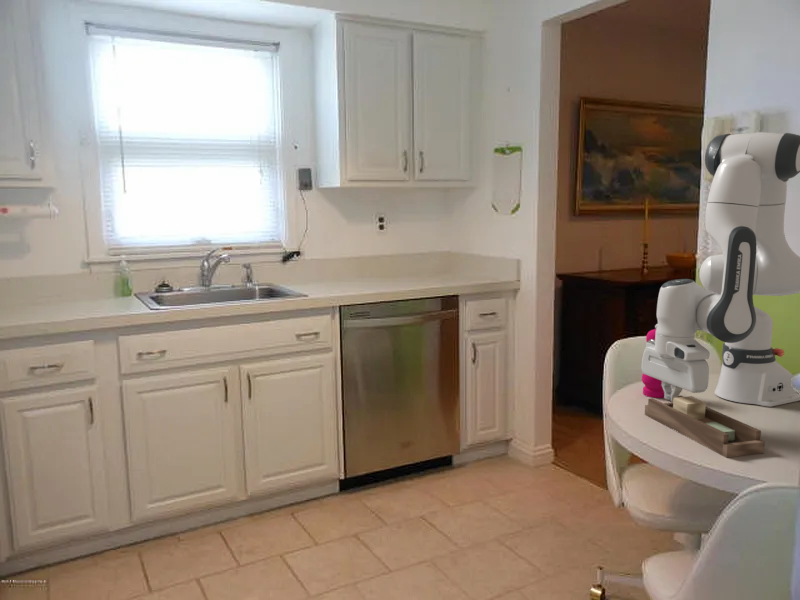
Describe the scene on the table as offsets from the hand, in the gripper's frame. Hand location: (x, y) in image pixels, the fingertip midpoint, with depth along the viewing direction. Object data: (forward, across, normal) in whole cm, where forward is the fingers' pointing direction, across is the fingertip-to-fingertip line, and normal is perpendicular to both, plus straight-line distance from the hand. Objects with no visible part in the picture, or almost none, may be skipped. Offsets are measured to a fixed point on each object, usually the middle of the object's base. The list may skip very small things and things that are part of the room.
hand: (671, 400), depth 161 cm
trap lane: (+4, +10, 0) cm, 11 cm away
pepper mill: (+4, -17, +9) cm, 20 cm away
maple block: (+2, +6, 0) cm, 7 cm away
